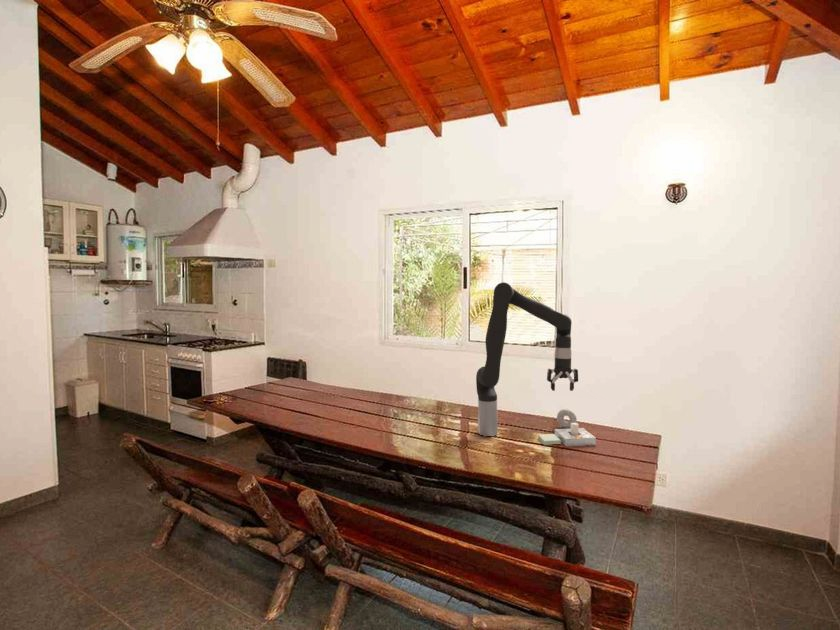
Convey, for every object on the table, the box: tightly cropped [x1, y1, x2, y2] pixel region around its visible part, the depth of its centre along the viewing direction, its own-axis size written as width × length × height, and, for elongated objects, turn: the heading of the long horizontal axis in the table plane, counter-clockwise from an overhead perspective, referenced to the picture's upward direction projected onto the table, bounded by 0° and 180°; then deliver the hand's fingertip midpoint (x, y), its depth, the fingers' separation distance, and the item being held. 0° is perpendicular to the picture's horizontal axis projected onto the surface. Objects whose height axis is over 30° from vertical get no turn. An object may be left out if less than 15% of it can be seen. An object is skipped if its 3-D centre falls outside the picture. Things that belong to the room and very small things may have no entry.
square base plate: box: [537, 433, 562, 446], centre depth 211 cm, size 8×9×2 cm
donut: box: [556, 408, 578, 429], centre depth 230 cm, size 10×4×10 cm, turn 51°
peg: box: [570, 422, 579, 435], centre depth 212 cm, size 3×3×8 cm
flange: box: [554, 427, 597, 447], centre depth 212 cm, size 14×14×4 cm
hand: (562, 390), depth 216 cm, fingers open, 8 cm apart
